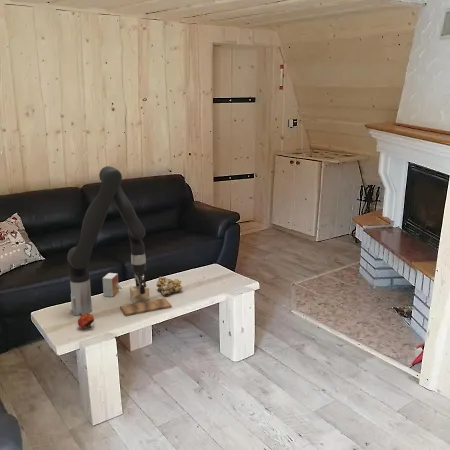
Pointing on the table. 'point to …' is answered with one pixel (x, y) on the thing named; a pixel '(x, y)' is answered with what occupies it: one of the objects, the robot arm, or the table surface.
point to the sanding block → (139, 294)
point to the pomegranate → (85, 320)
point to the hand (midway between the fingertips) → (140, 290)
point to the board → (145, 307)
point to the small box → (110, 284)
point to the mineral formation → (168, 285)
